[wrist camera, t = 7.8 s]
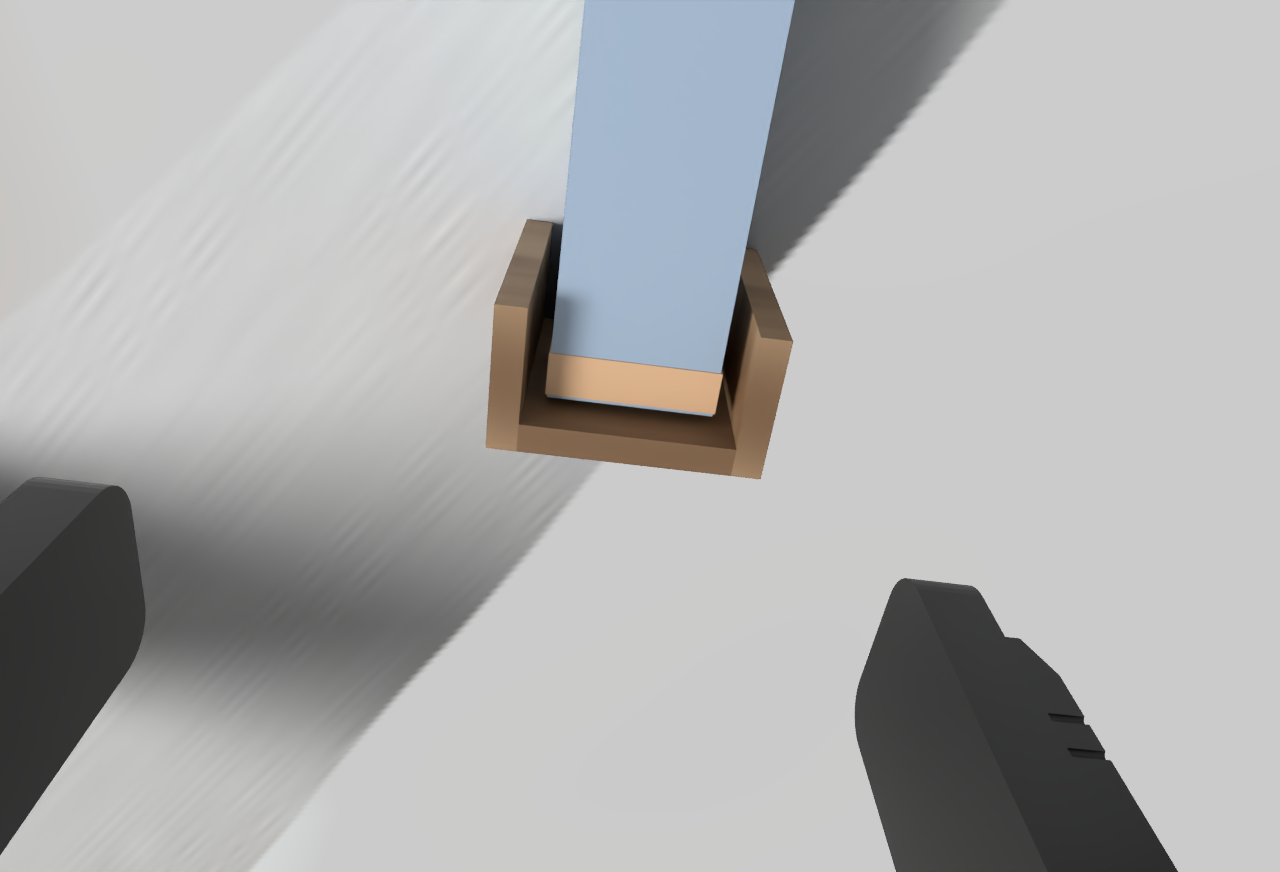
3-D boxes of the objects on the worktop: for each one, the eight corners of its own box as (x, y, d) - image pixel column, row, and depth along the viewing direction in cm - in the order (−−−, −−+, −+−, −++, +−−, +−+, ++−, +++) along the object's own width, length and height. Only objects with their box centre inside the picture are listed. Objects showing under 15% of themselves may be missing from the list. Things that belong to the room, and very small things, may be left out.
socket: (733, 363, 30) (760, 479, 24) (518, 337, 30) (485, 447, 23) (756, 250, 28) (793, 341, 22) (527, 219, 28) (494, 303, 21)
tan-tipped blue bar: (699, 331, 30) (714, 417, 24) (561, 313, 29) (544, 397, 24) (809, -273, 22) (865, -341, 17) (622, -306, 22) (618, -386, 16)
